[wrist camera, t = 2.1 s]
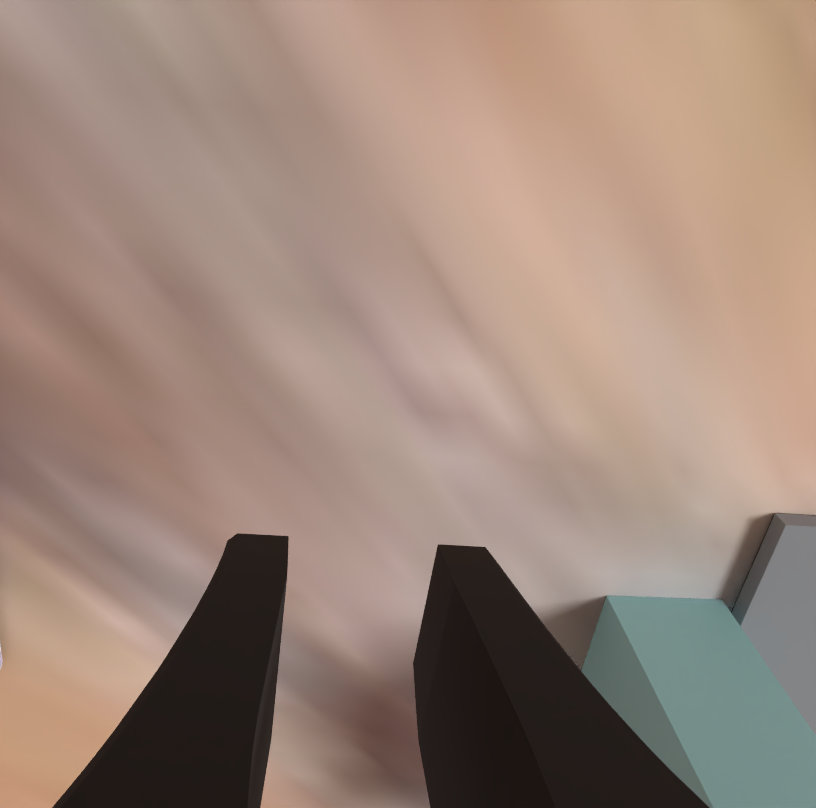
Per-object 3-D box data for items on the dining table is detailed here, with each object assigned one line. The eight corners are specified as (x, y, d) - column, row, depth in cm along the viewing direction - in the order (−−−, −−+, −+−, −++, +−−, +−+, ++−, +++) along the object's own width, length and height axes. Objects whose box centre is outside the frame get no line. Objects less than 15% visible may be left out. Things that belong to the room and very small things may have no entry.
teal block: (555, 745, 28) (640, 1001, 21) (606, 594, 25) (727, 836, 18) (658, 745, 28) (775, 993, 21) (721, 599, 25) (883, 832, 18)
